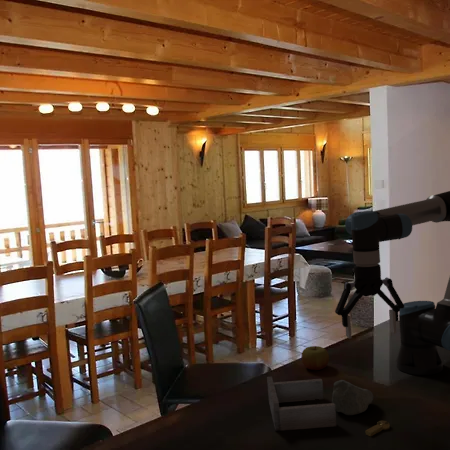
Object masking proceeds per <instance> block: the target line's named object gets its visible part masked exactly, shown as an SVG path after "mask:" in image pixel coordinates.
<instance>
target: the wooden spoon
mask: <svg viewBox="0 0 450 450" xmlns="http://www.w3.org/2000/svg"><path fill="white" fill-rule="evenodd" d="M388 430H390V422H389V421H387V420H378V421H377V423H376V425H373V426H371V427H370V428H368V429H366V430H365V435H367V436H368V437H372V436H374V435H376V434H378V433H380V432H382V431H388Z"/></svg>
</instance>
